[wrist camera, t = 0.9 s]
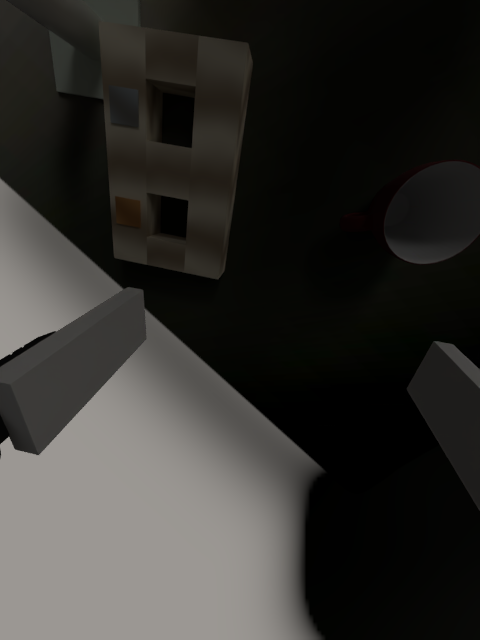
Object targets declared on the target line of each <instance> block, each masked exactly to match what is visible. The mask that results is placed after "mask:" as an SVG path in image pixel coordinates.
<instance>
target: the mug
mask: <svg viewBox="0 0 480 640" xmlns="http://www.w3.org/2000/svg"><path fill="white" fill-rule="evenodd" d="M340 228H341V230H343V231H346V232H361V231H370V230H371V231H372V233H373V235H374V236H375V238H376V240H377V241H378V243H379V244H380V245H381V247H382V248H383V249H384V250H386V251H387V252H388V253H390V254H391V255H393V256H395V257H396V258H398V259H400V260H403V261H405V262H408V263H412V264H418V265H427V264H434V263H438V262H442V261H445V260H447V259H450V258H452V257H454V256H456V255H457V254H459V253H460V252H462V251H463V250H465V249H466V248H467V247H468V246H470V245H471V244H472V243H473V242H474V241H475V240H476V239H477V238H478V236H479V235H480V167H479V166H477V165H475V164H473V163H470V162H467V161H462V160H445V161H438V162H432V163H427V164H424V165H421V166H418V167H415V168H413V169H411V170H409V171H407V172H405V173H403V174H402V175H400V176H398V177H397V178H395V179H394V180H392V181H391V182H389V183H388V184H386V185H385V186H384V187H383V188H382V189H381V190H380V191H379V192H378V193H377V194H376V196H375V197H374V199H373V200H372V202H371V204H370V207H369V209H368V211H366V212H358V213H350V214H346V215H344V216H342V217H341V219H340Z"/></svg>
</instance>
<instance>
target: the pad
mask: <svg viewBox="0 0 480 640" xmlns="http://www.w3.org/2000/svg"><path fill="white" fill-rule="evenodd" d="M83 1H84V2H85V3H86V4H87V5H88V6H89V7H90V8H91V9H92V10H93V11H94V12H95V13H96V14H97V15H98V16H99V17H100V18H101V19H102V20H103V21H104V22H111V23H117V24H124V25H131V26H138V27H141V25H140V0H83ZM49 36H50V43H51V51H52V58H53V66H54V74H55V81H56V89H57V91H58V92H60V93H66V94H72V95H78V96H84V97H90V98H96V99H102V100H104V98H103V84H102V69H101V60H92V59H90V58H89V57H87V56H86V55H84V54H83V53H82V52H80V51H79V50H77V49H76V48H74V47H73V46H71V45H70V44H69V43H67V42H66V41H64V40H63V39H61V38H60V37H59V36H57V35H56V34H54V33H53V32H51V31H50V30H49Z"/></svg>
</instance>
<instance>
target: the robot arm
mask: <svg viewBox="0 0 480 640" xmlns="http://www.w3.org/2000/svg"><path fill="white" fill-rule="evenodd" d="M145 340H146V326H145V311H144V296H143V290H141V289H136V288H130V287H127V288H126V289H124V290H122V291H121V292H119V293H118V294H116V295H114V296H113V297H111V298H110V299H108V300H106V301H105V302H103V303H102V304H100V305H98V306H97V307H95V308H94V309H92V310H90V311H89V312H87V313H86V314H84V315H82V316H81V317H79V318H78V319H76V320H75V321H73V322H71V323H70V324H68V325H66V326H65V327H63V328H62V329H60V330H58V331H57V332H55V331H54V332H51V333H48V334H46V335H43V336H40V337H38V338H36V339H34V340H33V341H31V342H29V343H28V344H26V345H24V347H23V348H22V347H21V348H19V349H18V350H16V351H14V352H13V353H12V355H8V356H6V357H4V358H3V359H1V360H0V444H1V443H2V442H3V441H4V440H5V439H6V438H8V437H10V439H11V441H12V444H13V446H14V448H15V449H16V450H20V451H24V452H28V453H33V454H36V455H39V454H40V453H41V452H42V451H43V450H44V449H45V448H46V447H47V445H49V443H50V442H51V441H52V440H53V439H54V438H55V437H56V436H57V435H58V434H59V433H60V432H61V431H62V429H63V428H64V427H65V426H66V425H67V424H68V423H69V422H70V421H71V420H72V418H73V417H74V416H75V415H76V414H77V413H78V412H79V411H80V410H81V409H82V408H83V407H84V406H85V404H87V402H88V401H89V400H90V399H91V398H92V397H93V396H94V395H95V394H96V393H97V392H98V390H99V389H100V388H101V387H102V386H103V385H104V384H105V383H106V382H107V381H108V380H109V379H110V378H111V377H112V375H113V374H114V373H115V372H116V371H117V370H118V369H119V368H120V367H121V366H122V365H123V364H124V362H125V361H126V360H127V359H128V358H129V357H130V356H131V355H132V354H133V353H134V352H135V351H136V349H137V348H138V347H139V346H140V345H141V344H142V343H143V342H144V341H145ZM407 391H408V392H409V394H410V396H411V397H412V399H413V401H414V402H415V404H416V406H417V407H418V409H419V411H420V412H421V414H422V416H423V417H424V419H425V421H426V422H427V424H428V426H429V427H430V429H431V431H432V432H433V434H434V436H435V437H436V439H437V441H438V442H439V444H440V446H441V447H442V449H443V451H444V452H445V454H446V455H447V457H448V459H449V460H450V462H451V464H452V465H453V467H454V469H455V471H456V472H457V474H458V476H459V477H460V479H461V480H462V482H463V484H464V485H465V487H466V489H467V490H468V492H469V494H470V495H471V497H472V499H473V501H474V502H475V504H476V505H477V507H478V509H479V511H480V369H478V368H477V367H476V366H475V365H474V364H473V363H472V362H471V361H470V360H469V359H468V358H467V357H466V356H465V355H464V354H462V353H461V352H460V351H459V350H458V349H457V348H456V347H455V346H454V345H453V344H448V343H443V342H437V341H434V342H433V343H432V345H431V347H430V349H429V350H428V352H427V354H426V356H425V357H424V359H423V361H422V363H421V365H420V366H419V368H418V370H417V372H416V373H415V375H414V377H413V379H412V380H411V382H410V384H409V386H408V387H407ZM0 456H1V451H0Z"/></svg>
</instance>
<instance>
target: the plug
mask: <svg viewBox="0 0 480 640" xmlns="http://www.w3.org/2000/svg"><path fill="white" fill-rule="evenodd" d="M7 1H8V2H10V3H11V4H12V5H14V6H15V7H17V8H18V9H20V10H21V11H22V12H24V13H25V14H27V15H28V16H30V17H31V18H33V19H34V20H35V21H37V22H38V23H40V24H41V25H43V26H44V27H46V28H47V29H48V30H50V31H51V32H53V33H54V34H56V35H57V36H59V37H60V38H61V39H63V40H64V41H66V42H67V43H69V44H70V45H71V46H73V47H74V48H76V49H77V50H79V51H80V52H82V53H83V54H84V55H86V56H87V57H89V58H90V59H92V60H101V54H100V39H99V24H98V21H103V20H102V19H101V18H100V17H99V16H98V15H97V14H96V13H95V12H94V11H93V10H92V9H91V8H90V7H89V6H88V5H87V4H86V3H85V2H84V1H83V0H7Z"/></svg>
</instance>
